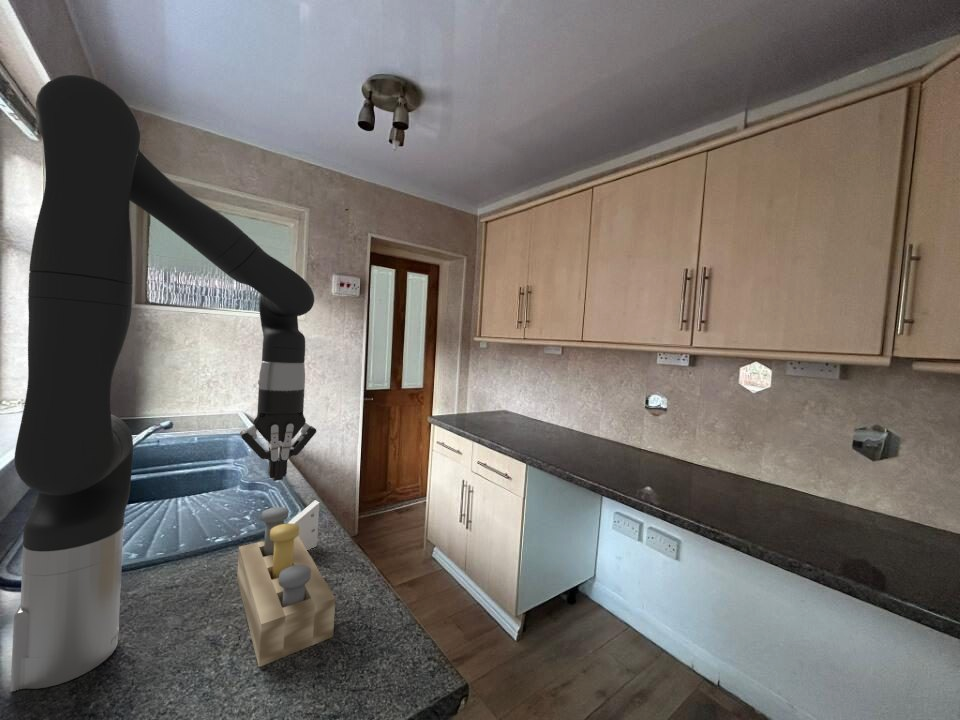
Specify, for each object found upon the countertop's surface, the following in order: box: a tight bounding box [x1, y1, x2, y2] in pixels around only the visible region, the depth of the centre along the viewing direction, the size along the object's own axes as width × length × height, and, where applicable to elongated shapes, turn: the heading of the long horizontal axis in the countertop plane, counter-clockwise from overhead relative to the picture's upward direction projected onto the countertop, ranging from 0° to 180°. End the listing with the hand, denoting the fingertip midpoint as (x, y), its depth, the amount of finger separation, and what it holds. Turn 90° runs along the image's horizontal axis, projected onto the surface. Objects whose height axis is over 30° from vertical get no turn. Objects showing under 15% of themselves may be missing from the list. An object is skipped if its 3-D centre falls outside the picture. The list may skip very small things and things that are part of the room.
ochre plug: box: [270, 523, 299, 580], centre depth 64 cm, size 4×4×9 cm
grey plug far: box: [261, 506, 289, 557], centre depth 70 cm, size 4×4×9 cm
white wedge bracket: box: [287, 499, 320, 550], centre depth 83 cm, size 4×10×9 cm, turn 141°
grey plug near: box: [279, 565, 311, 608], centre depth 58 cm, size 4×4×9 cm
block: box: [236, 536, 336, 668], centre depth 64 cm, size 10×24×6 cm, turn 39°
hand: (277, 479), depth 70 cm, fingers closed
